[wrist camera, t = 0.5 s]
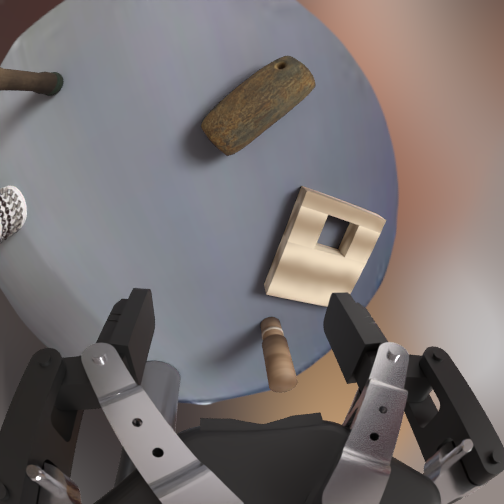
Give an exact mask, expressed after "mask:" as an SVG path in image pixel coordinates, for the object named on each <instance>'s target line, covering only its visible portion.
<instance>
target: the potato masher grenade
mask: <svg viewBox="0 0 504 504" xmlns="http://www.w3.org/2000/svg"><path fill="white" fill-rule="evenodd" d="M62 86H63V77H62V76H61V75H60V74H59V73H56V72H51V73H49V72H41V73H35V72H28V71H20V70H11V69H3V68H1V67H0V90H19V91H34V92H36V93H39V94H46V95H54V94H56V93H57V92H59V91H60V89H61V88H62Z"/></svg>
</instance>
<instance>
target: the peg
mask: <svg viewBox="0 0 504 504" xmlns="http://www.w3.org/2000/svg"><path fill="white" fill-rule="evenodd" d="M260 326H261V332H262V339H263V342H262V348H263V354H264V359H265V365H266V371H267V377H268V383H269V388H270V389H271V390H272V391H274V392H287V391H290V390H292V389H293V388H294V387H295V386H296V385H297V383H298V381H297V377H296V373H295V370H294V366H293V362H292V359H291V355H290V351H289V347H288V344H287V340H286V338H285V337H284V334H283V331H282V328H281V324H280V321H279V320H278V319H277V318H275V317H268V318H265V319H264V320H263V321H262V322H261V325H260Z"/></svg>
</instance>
